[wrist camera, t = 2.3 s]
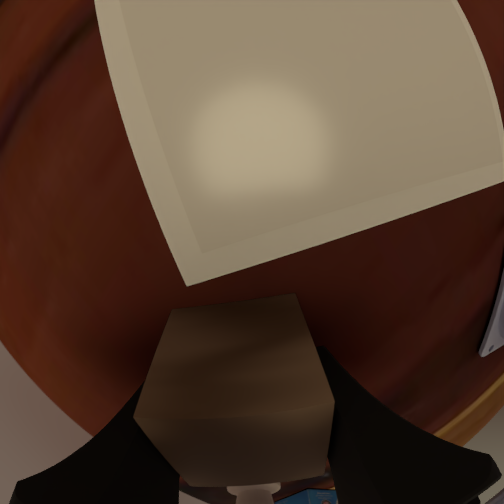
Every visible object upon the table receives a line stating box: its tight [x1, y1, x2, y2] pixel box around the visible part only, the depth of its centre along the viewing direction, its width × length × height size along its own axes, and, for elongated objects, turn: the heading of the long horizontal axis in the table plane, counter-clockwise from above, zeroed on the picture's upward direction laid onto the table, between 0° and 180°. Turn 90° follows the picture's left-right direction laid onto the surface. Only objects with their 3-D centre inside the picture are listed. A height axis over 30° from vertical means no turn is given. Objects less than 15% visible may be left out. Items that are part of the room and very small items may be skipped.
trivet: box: [94, 0, 504, 286], centre depth 6 cm, size 12×12×2 cm
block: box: [133, 293, 335, 487], centre depth 8 cm, size 4×4×5 cm
